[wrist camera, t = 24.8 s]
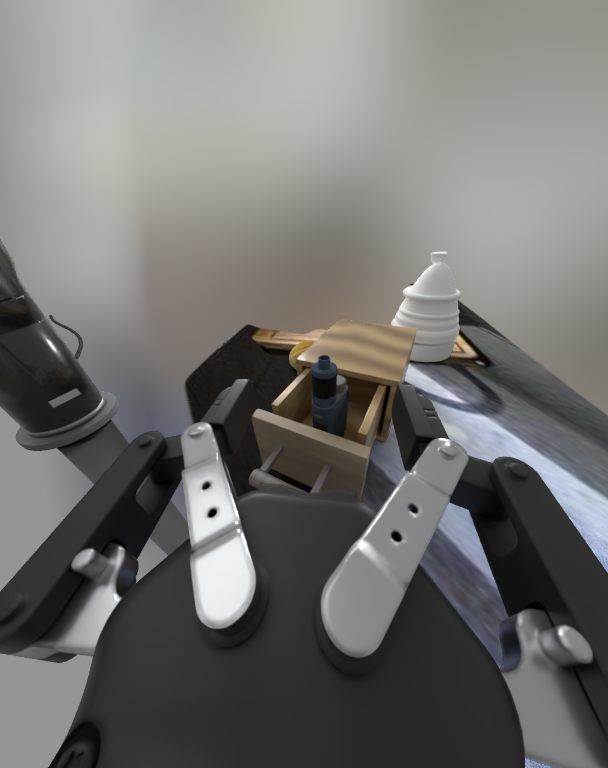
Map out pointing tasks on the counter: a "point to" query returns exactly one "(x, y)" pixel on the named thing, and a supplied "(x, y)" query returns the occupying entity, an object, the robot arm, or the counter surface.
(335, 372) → the vaping device
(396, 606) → the robot arm
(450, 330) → the honey pot
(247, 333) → the counter surface
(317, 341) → the cabinet
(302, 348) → the bread roll
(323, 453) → the drawer
